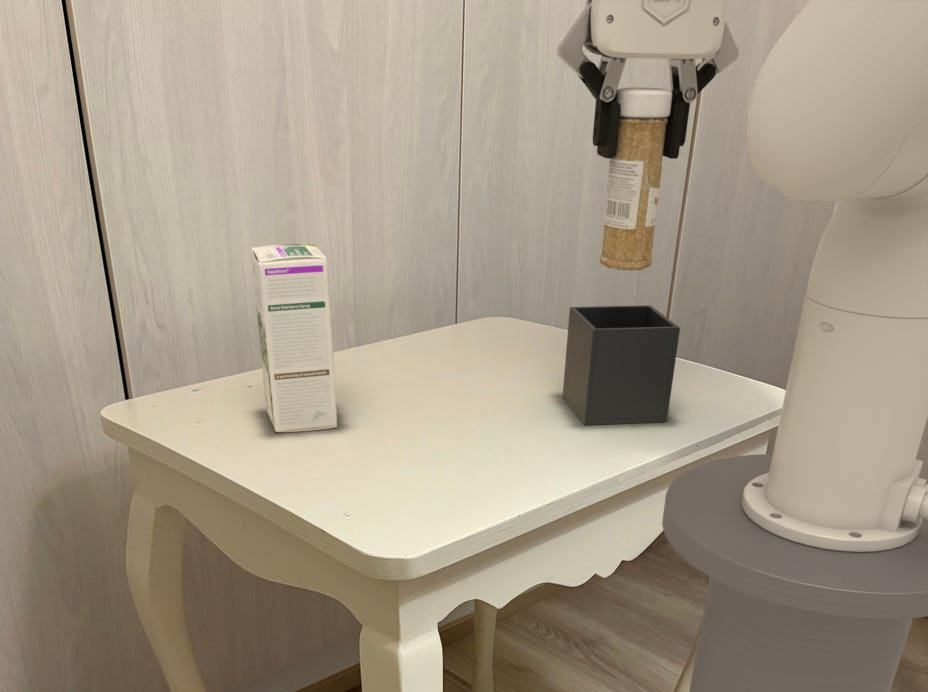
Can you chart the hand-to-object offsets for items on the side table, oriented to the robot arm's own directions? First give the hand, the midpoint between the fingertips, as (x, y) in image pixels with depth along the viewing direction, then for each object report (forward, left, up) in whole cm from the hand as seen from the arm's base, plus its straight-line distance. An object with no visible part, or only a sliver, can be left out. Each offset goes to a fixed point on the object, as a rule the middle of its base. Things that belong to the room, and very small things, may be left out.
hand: (637, 153), depth 81 cm
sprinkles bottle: (0, 0, -9) cm, 9 cm away
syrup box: (+22, +18, -22) cm, 36 cm away
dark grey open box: (0, 0, -22) cm, 22 cm away
